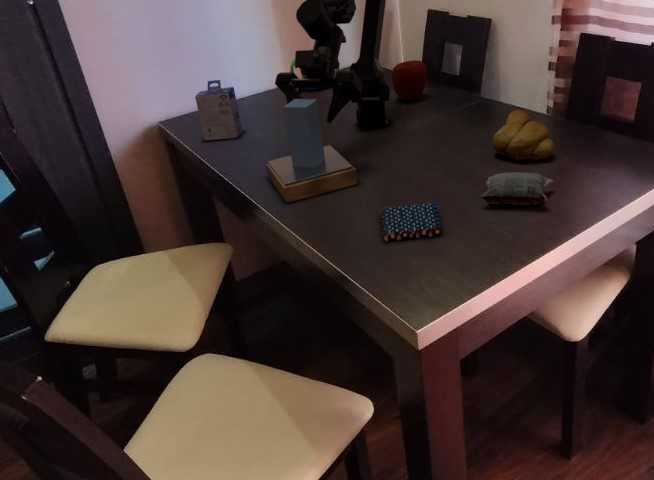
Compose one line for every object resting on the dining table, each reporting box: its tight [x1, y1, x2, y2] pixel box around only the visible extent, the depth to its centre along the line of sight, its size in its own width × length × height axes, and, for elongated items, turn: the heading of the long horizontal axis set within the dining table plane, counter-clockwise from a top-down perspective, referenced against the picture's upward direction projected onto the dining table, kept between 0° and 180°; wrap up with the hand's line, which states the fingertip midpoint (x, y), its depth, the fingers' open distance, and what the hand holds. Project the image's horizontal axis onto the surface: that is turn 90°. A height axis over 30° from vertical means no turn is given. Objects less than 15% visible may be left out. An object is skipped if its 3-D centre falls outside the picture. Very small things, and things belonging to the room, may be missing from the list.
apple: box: [390, 59, 428, 102], centre depth 170 cm, size 10×10×10 cm
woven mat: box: [380, 202, 443, 243], centre depth 115 cm, size 10×11×2 cm
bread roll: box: [492, 108, 555, 161], centre depth 130 cm, size 13×10×8 cm
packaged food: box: [480, 171, 554, 206], centre depth 116 cm, size 9×12×5 cm
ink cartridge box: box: [194, 79, 244, 141], centre depth 169 cm, size 10×6×14 cm, turn 79°
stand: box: [265, 145, 358, 204], centre depth 138 cm, size 16×16×4 cm
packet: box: [282, 98, 325, 168], centre depth 133 cm, size 6×5×13 cm
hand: (309, 122), depth 134 cm, fingers open, 9 cm apart
